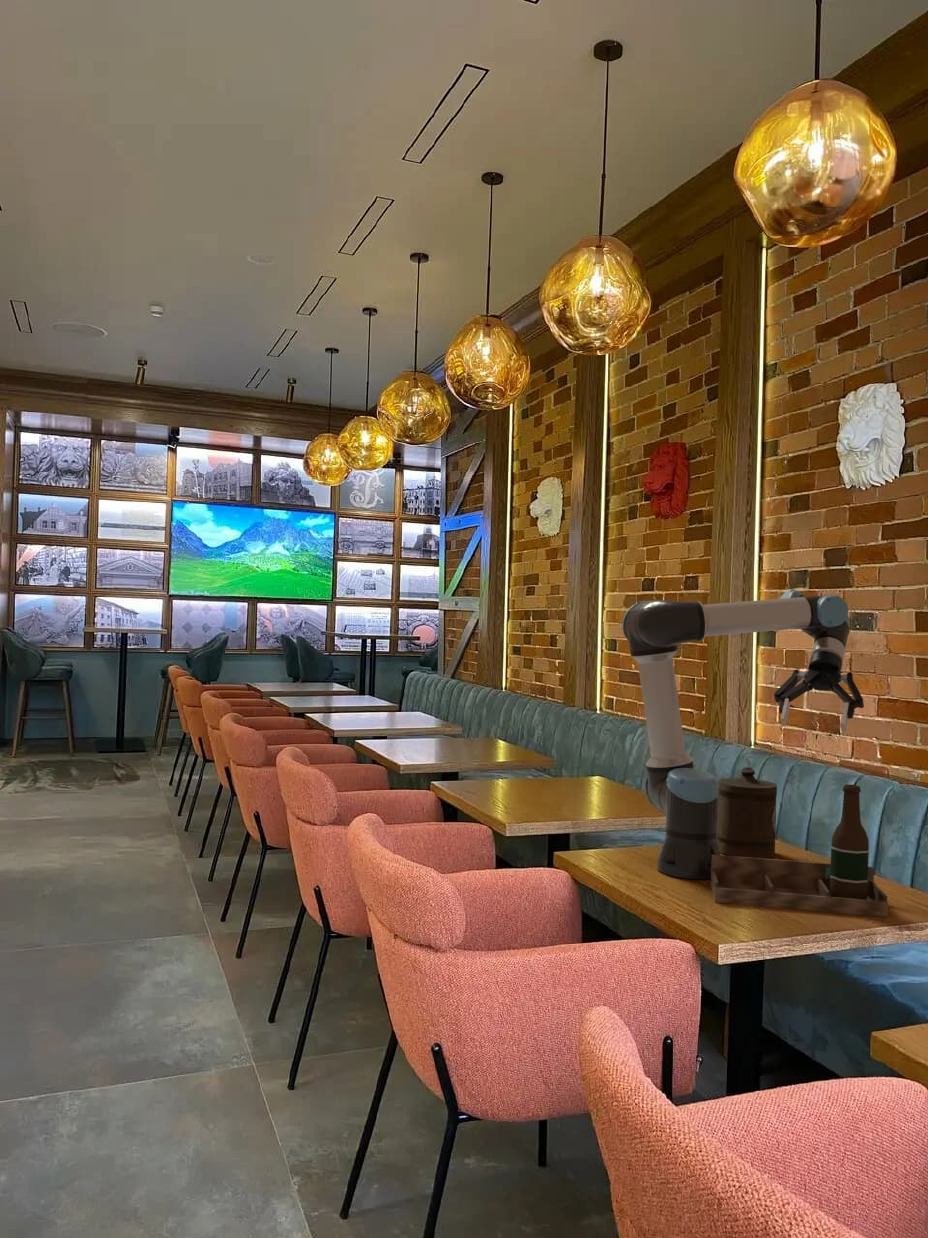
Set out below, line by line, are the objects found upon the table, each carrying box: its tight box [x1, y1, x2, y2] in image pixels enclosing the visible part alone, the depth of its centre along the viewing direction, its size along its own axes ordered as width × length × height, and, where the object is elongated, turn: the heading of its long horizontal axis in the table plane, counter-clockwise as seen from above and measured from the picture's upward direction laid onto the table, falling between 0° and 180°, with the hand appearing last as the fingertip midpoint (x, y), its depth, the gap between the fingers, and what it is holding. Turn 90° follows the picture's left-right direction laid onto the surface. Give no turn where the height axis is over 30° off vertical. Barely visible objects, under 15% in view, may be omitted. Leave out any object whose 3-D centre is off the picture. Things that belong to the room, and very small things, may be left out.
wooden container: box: [716, 766, 778, 859], centre depth 243 cm, size 15×15×22 cm
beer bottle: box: [830, 783, 870, 900], centre depth 197 cm, size 8×8×24 cm
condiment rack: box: [710, 854, 889, 918], centre depth 199 cm, size 34×13×7 cm, turn 79°
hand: (812, 725), depth 220 cm, fingers open, 13 cm apart
